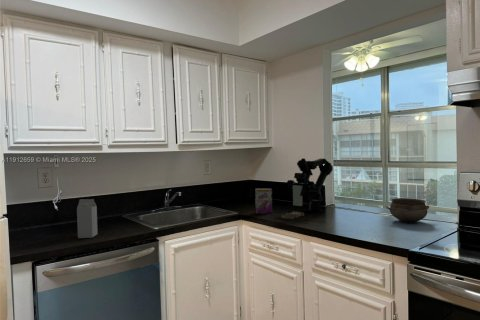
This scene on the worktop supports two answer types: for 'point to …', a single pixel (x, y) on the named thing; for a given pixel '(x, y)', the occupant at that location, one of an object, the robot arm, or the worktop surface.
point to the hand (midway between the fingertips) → (296, 195)
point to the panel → (297, 195)
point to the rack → (292, 215)
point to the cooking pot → (408, 209)
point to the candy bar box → (263, 201)
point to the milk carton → (87, 218)
